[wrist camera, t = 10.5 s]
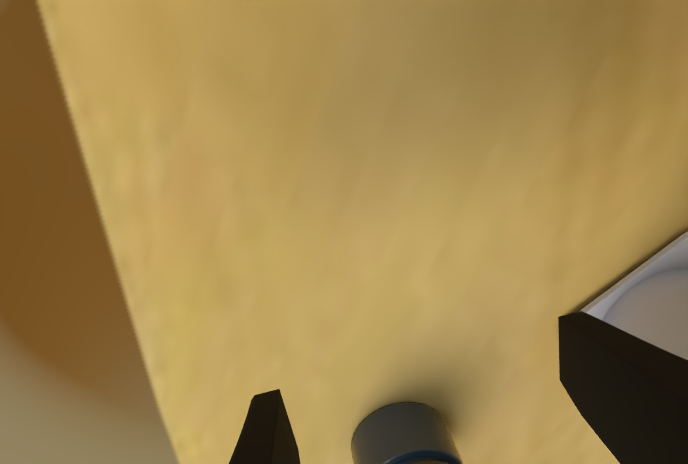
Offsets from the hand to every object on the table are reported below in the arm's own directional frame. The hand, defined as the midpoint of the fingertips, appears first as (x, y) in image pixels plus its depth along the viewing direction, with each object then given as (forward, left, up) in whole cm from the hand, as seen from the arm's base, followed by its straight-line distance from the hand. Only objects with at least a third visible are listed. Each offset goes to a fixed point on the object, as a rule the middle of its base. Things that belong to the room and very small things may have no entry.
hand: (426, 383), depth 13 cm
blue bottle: (-11, +6, -10) cm, 17 cm away
